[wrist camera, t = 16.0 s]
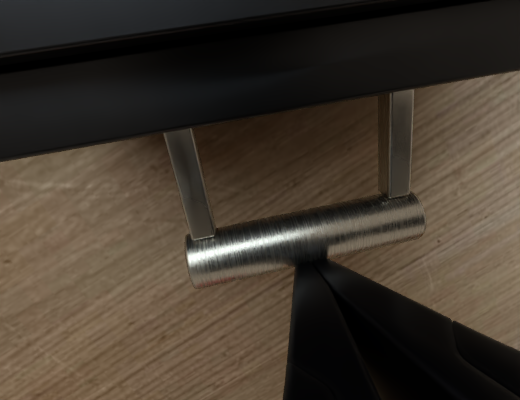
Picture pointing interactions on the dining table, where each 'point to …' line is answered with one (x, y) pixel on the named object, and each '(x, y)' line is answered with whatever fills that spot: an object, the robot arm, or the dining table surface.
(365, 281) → the robot arm
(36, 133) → the drawer
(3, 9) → the cabinet
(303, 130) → the dining table surface
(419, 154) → the dining table surface
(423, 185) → the dining table surface
